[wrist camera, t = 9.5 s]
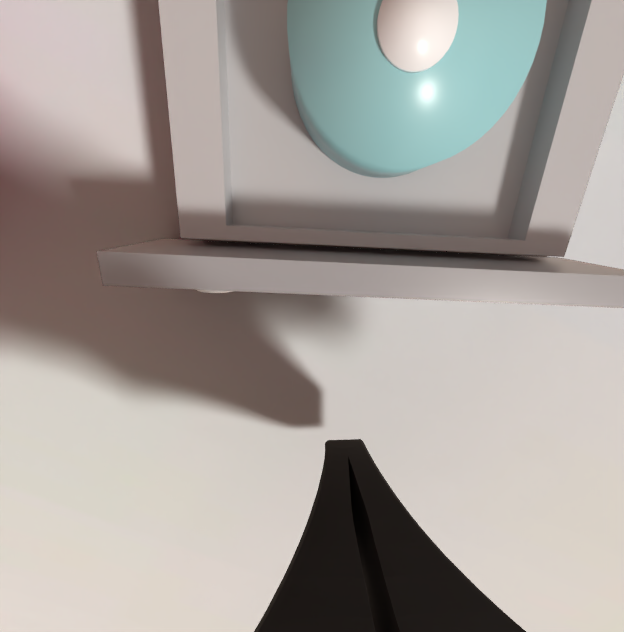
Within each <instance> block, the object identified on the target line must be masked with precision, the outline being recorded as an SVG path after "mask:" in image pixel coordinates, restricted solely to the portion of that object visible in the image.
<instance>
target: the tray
mask: <svg viewBox="0 0 624 632" xmlns="http://www.w3.org/2000/svg"><path fill="white" fill-rule="evenodd" d="M287 3H288V0H158V4H159V14H160V25H161V36H162V46H163V57H164V68H165V78H166V89H167V100H168V110H169V121H170V131H171V142H172V153H173V163H174V174H175V185H176V195H177V206H178V217H179V227H180V238H190V239H211V240H231V241H252V242H272V243H293V244H313V245H334V246H354V247H375V248H395V249H416V250H436V251H457V252H478V253H498V254H519V255H539V256H560V257H564V255H565V252H566V249H567V246H568V243H569V240H570V237H571V234H572V231H573V228H574V224H575V221H576V218H577V215H578V212H579V209H580V206H581V203H582V200H583V197H584V194H585V191H586V188H587V185H588V182H589V178H590V175H591V172H592V169H593V166H594V163H595V160H596V157H597V154H598V151H599V148H600V145H601V142H602V139H603V136H604V132H605V129H606V126H607V123H608V120H609V117H610V114H611V111H612V108H613V105H614V102H615V99H616V96H617V93H618V90H619V86H620V83H621V80H622V77H623V74H624V0H547V3H546V11H545V19H544V25H543V29H542V34H541V38H540V42H539V46H538V49H537V52H536V55H535V58H534V61H533V63H532V66H531V68H530V70H529V72H528V75H527V77H526V79H525V81H524V83H523V85H522V87H521V88H520V90H519V92H518V94H517V96H516V97H515V99H514V100H513V102H512V103H511V105H510V106H509V107H508V109H507V110H506V112H505V113H504V114H503V115H502V117H501V118H500V119H499V120H498V121H497V122H496V123H495V125H494V126H493V127H492V128H491V129H490V130H489V131H487V132H486V133H485V134H484V135H483V136H482V137H481V138H480V139H479V140H477V141H476V142H475V143H473V144H472V145H470V146H469V147H468V148H466V149H465V150H463V151H461V152H459V153H457V154H456V155H454V156H452V157H450V158H447V159H445V160H442V161H440V162H437V163H435V164H432V165H429V166H427V167H424V168H422V169H419V170H417V171H414V172H411V173H409V174H405V175H401V176H397V177H389V178H374V177H368V176H363V175H359V174H357V173H354V172H351V171H349V170H347V169H345V168H343V167H341V166H340V165H338V164H337V163H335V162H334V161H332V160H331V159H330V158H329V157H328V156H327V155H326V154H325V153H324V152H322V151H321V149H320V148H319V147H318V146H317V145H316V143H315V142H314V141H313V139H312V138H311V136H310V135H309V133H308V131H307V130H306V128H305V126H304V123H303V121H302V119H301V117H300V114H299V111H298V108H297V105H296V102H295V97H294V92H293V87H292V77H291V67H290V56H289V45H288V34H287ZM97 256H98V262H99V267H100V273H101V278H102V283H103V286H126V287H149V288H172V289H195V290H197V291H200V292H205V293H227V292H233V291H241V292H264V293H287V294H310V295H333V296H356V297H379V298H403V299H426V300H449V301H472V302H495V303H518V304H541V305H564V306H587V307H610V308H624V270H623V269H618V268H612V267H607V266H602V265H596V264H591V263H585V262H580V261H575V260H569V259H564V258H558V257H538V256H518V255H497V254H476V253H456V252H435V251H415V250H394V249H374V248H353V247H332V246H312V245H291V244H271V243H250V242H229V241H209V240H188V239H168V238H163V239H158V240H153V241H147V242H142V243H137V244H132V245H126V246H121V247H116V248H111V249H106V250H100V251H97Z"/></svg>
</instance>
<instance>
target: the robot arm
mask: <svg viewBox="0 0 624 632" xmlns="http://www.w3.org/2000/svg"><path fill="white" fill-rule="evenodd" d="M254 632H526V631H525V630H523V629H522V628H521V627H520V626H519V625H518V624H516V623H515V622H514V621H513V620H512V619H511V618H510V617H508V616H507V615H506V614H505V613H504V612H503V611H502V610H501V609H499V608H498V607H497V606H496V605H495V604H494V603H493V602H492V601H491V600H490V599H489V598H488V597H487V596H485V595H484V594H483V593H482V592H481V591H480V590H479V589H478V588H477V587H476V586H475V585H474V584H473V583H472V582H471V581H470V580H469V579H468V578H467V577H466V576H465V575H464V574H463V573H462V572H461V571H460V570H459V569H458V568H457V567H456V566H455V565H454V564H453V563H452V562H451V561H450V560H449V559H448V558H447V557H446V556H445V555H444V554H443V552H442V551H441V550H440V549H439V548H438V547H437V546H436V545H435V544H434V542H433V541H432V540H431V539H430V538H429V537H428V536H427V534H426V533H425V532H424V531H423V530H422V529H421V527H420V526H419V525H418V524H417V522H416V521H415V520H414V519H413V518H412V516H411V515H410V514H409V512H408V511H407V510H406V508H405V507H404V506H403V504H402V503H401V502H400V500H399V499H398V498H397V496H396V495H395V493H394V492H393V491H392V489H391V488H390V486H389V485H388V483H387V482H386V480H385V479H384V477H383V476H382V474H381V473H380V471H379V469H378V468H377V466H376V464H375V463H374V461H373V459H372V458H371V456H370V454H369V452H368V450H367V448H366V446H365V444H364V442H363V441H362V440H361V439H356V440H328V441H327V442H326V443H325V459H324V465H323V471H322V475H321V479H320V483H319V488H318V491H317V495H316V498H315V501H314V504H313V507H312V510H311V513H310V516H309V519H308V522H307V525H306V527H305V530H304V532H303V535H302V537H301V540H300V542H299V545H298V547H297V549H296V552H295V554H294V556H293V558H292V561H291V563H290V565H289V567H288V569H287V571H286V573H285V576H284V578H283V580H282V581H281V583H280V585H279V587H278V589H277V591H276V593H275V595H274V597H273V599H272V601H271V603H270V605H269V607H268V608H267V610H266V612H265V614H264V616H263V617H262V619H261V621H260V623H259V624H258V626H257V628H256V629H255V631H254Z"/></svg>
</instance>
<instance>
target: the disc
mask: <svg viewBox="0 0 624 632" xmlns="http://www.w3.org/2000/svg"><path fill="white" fill-rule="evenodd" d="M546 3H547V0H288V3H287V34H288V45H289V56H290V67H291V77H292V87H293V92H294V97H295V102H296V105H297V108H298V111H299V114H300V117H301V119H302V121H303V123H304V126H305V128H306V130H307V131H308V133H309V135H310V136H311V138H312V139H313V141H314V142H315V143H316V145H317V146H318V147H319V148H320V149H321V151H322V152H324V153H325V154H326V155H327V156H328V157H329V158H330V159H331V160H332V161H334V162H335V163H337V164H338V165H340V166H341V167H343V168H345V169H347V170H349V171H351V172H354V173H357V174H359V175H363V176H368V177H374V178H389V177H397V176H401V175H405V174H409V173H411V172H414V171H417V170H419V169H422V168H424V167H427V166H429V165H432V164H435V163H437V162H440V161H442V160H445V159H447V158H450V157H452V156H454V155H456V154H457V153H459V152H461V151H463V150H465V149H466V148H468V147H469V146H470V145H472V144H473V143H475V142H476V141H477V140H479V139H480V138H481V137H482V136H483V135H484V134H485V133H486V132H487V131H489V130H490V129H491V128H492V127H493V126H494V125H495V123H496V122H497V121H498V120H499V119H500V118H501V117H502V115H503V114H504V113H505V112H506V110H507V109H508V107H509V106H510V105H511V103H512V102H513V100H514V99H515V97H516V96H517V94H518V92H519V90H520V88H521V87H522V85H523V83H524V81H525V79H526V77H527V75H528V72H529V70H530V68H531V66H532V63H533V61H534V58H535V55H536V52H537V49H538V46H539V42H540V38H541V34H542V29H543V25H544V19H545V11H546Z"/></svg>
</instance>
